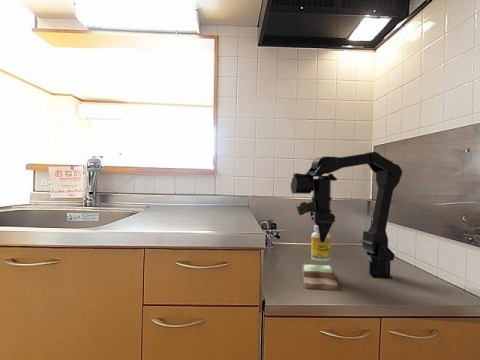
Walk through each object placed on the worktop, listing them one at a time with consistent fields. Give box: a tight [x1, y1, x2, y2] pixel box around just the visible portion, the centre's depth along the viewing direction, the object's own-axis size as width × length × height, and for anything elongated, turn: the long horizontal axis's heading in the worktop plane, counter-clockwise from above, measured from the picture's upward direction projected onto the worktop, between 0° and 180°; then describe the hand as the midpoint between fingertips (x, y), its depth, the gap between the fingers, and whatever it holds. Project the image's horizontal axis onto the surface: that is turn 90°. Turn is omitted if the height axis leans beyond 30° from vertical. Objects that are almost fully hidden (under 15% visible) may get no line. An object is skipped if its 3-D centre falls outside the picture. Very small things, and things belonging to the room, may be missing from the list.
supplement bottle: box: [310, 224, 331, 262], centre depth 113 cm, size 6×6×11 cm
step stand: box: [301, 264, 339, 291], centre depth 111 cm, size 10×16×3 cm, turn 172°
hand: (320, 239), depth 113 cm, fingers closed on supplement bottle, 6 cm apart
